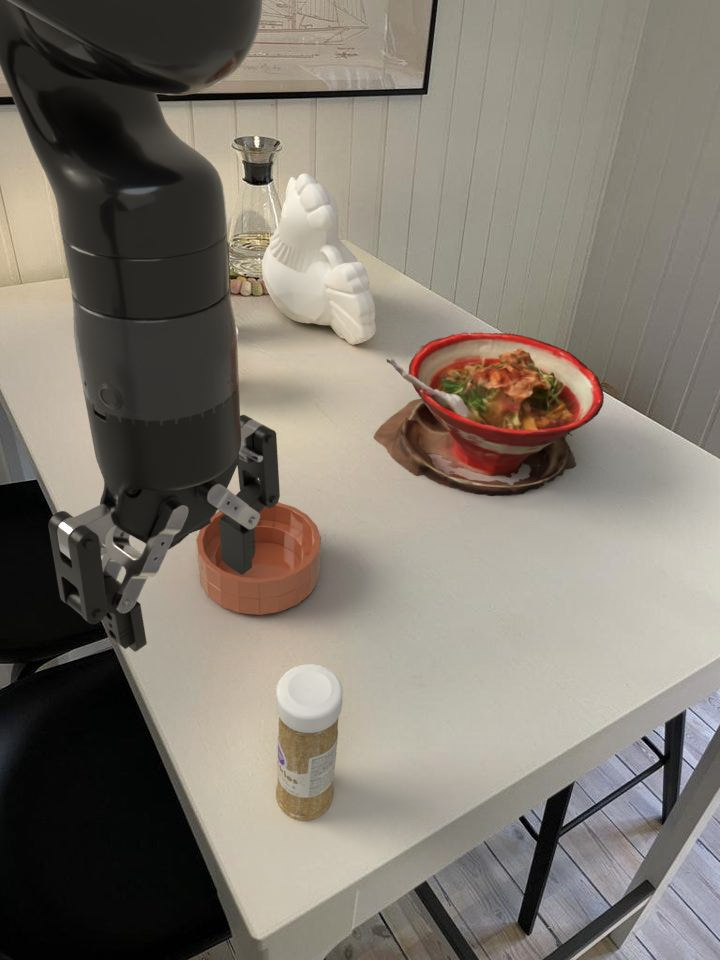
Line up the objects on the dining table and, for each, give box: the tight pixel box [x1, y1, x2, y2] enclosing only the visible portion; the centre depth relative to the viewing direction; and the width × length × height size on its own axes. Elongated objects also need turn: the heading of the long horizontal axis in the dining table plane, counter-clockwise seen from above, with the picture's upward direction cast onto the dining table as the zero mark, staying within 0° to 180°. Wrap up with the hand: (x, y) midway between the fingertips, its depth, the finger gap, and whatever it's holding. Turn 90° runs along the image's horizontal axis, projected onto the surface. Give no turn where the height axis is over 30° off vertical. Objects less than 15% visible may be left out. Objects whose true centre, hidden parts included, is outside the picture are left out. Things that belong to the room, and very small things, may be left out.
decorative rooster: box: [261, 172, 377, 346], centre depth 118 cm, size 25×16×25 cm
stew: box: [373, 332, 605, 497], centre depth 94 cm, size 28×24×16 cm
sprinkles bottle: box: [275, 663, 344, 821], centre depth 55 cm, size 5×5×14 cm
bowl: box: [196, 501, 322, 616], centre depth 77 cm, size 12×12×5 cm
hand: (186, 601), depth 47 cm, fingers open, 8 cm apart
